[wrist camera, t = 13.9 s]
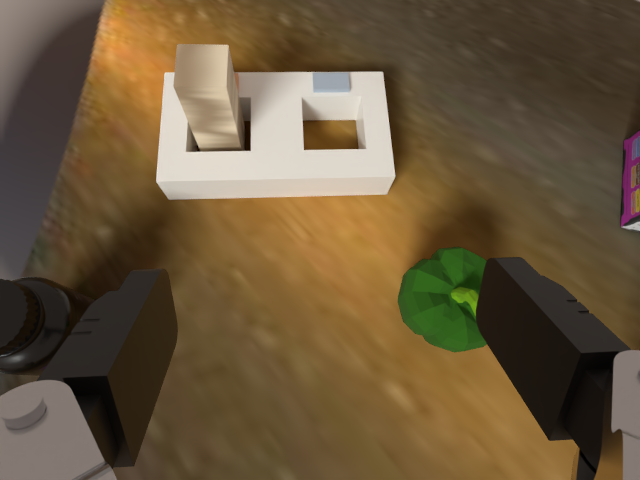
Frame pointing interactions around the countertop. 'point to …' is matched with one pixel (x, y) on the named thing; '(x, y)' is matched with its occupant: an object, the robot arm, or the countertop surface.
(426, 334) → the bell pepper
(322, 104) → the socket hub
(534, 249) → the countertop surface
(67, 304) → the supplement bottle
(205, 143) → the beech plug
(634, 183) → the candy bar box
